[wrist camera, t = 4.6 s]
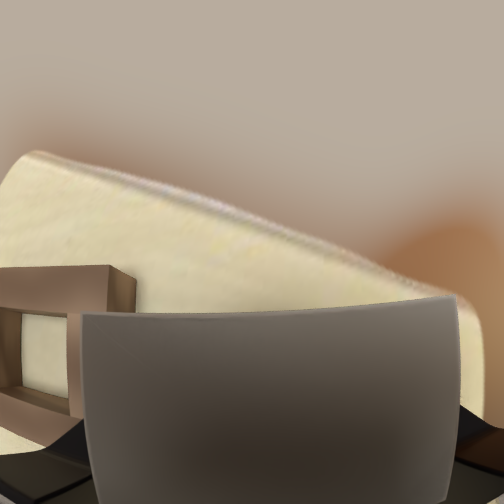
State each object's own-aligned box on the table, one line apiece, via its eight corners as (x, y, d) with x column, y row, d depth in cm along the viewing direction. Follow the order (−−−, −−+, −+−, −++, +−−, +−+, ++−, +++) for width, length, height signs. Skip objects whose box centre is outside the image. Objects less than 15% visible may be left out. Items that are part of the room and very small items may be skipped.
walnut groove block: (141, 449, 14) (116, 468, 10) (6, 409, 14) (-24, 412, 11) (136, 279, 17) (109, 264, 13) (6, 279, 17) (-24, 268, 14)
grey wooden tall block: (318, 394, 15) (445, 499, 3) (215, 398, 15) (103, 517, 3) (316, 331, 16) (455, 294, 4) (213, 335, 16) (80, 311, 4)
